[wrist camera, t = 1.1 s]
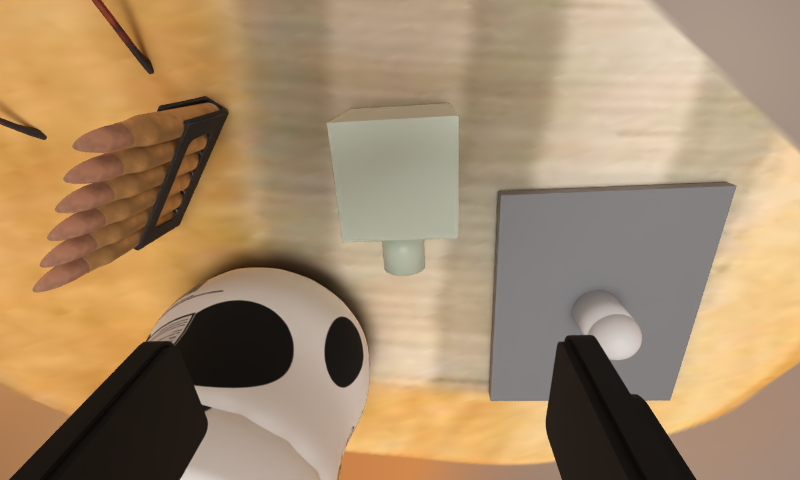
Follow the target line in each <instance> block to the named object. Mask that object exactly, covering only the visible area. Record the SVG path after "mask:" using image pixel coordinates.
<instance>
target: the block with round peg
mask: <svg viewBox="0 0 800 480" xmlns="http://www.w3.org/2000/svg"><path fill="white" fill-rule="evenodd" d="M327 129H328V137H329V144H330V152H331V159H332V167H333V174H334V182H335V189H336V197H337V205H338V212H339V220H340V227H341V235H342V242H358V241H382V247H383V259H384V269H385V270H386V272H388V273H390V274H392V275H396V276H409V275H414V274H417V273H419V272H421V271H422V270H423V269H424V268H425V249H424V239H450V238H458V181H459V115H458V114H457V113H456V111H455V110H454V109H453V107H452V106H451V105H450V104H449V103H442V104H425V105H408V106H390V107H373V108H356V109H350V110H348V111H346V112H344V113H343V114H341V115H339V116H338V117H336V118H334V119H333V120H331V121H329V122H327Z"/></svg>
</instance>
